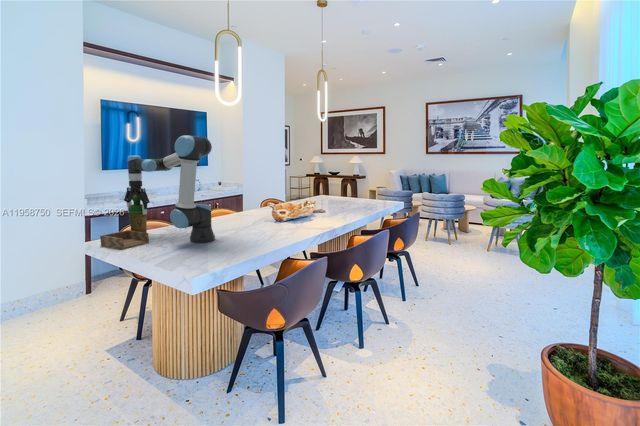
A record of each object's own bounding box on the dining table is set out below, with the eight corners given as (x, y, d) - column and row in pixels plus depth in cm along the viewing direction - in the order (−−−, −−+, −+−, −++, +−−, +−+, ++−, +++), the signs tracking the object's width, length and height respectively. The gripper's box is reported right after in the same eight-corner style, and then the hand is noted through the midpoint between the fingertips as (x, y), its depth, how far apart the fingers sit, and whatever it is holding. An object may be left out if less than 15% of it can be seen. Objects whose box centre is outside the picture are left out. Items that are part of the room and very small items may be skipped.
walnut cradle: (148, 243, 222) (148, 233, 221) (122, 249, 206) (121, 239, 205) (128, 239, 230) (127, 230, 229) (101, 246, 213) (100, 235, 212)
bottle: (141, 239, 231) (138, 195, 226) (126, 238, 233) (123, 195, 228) (151, 236, 241) (149, 193, 236) (137, 235, 243) (134, 193, 239)
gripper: (154, 180, 229) (156, 214, 233) (127, 178, 239) (129, 210, 243) (144, 181, 222) (146, 215, 226) (116, 179, 233) (118, 212, 236)
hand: (137, 213), depth 234 cm, fingers open, 13 cm apart
